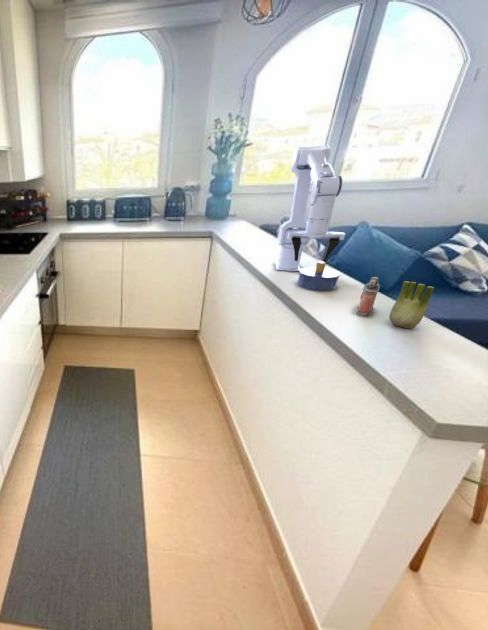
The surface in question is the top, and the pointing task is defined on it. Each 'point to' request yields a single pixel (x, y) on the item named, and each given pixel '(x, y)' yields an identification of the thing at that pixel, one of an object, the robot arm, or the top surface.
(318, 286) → the bowl
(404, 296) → the fennel bulb
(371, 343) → the top surface
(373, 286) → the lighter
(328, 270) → the tin lid
